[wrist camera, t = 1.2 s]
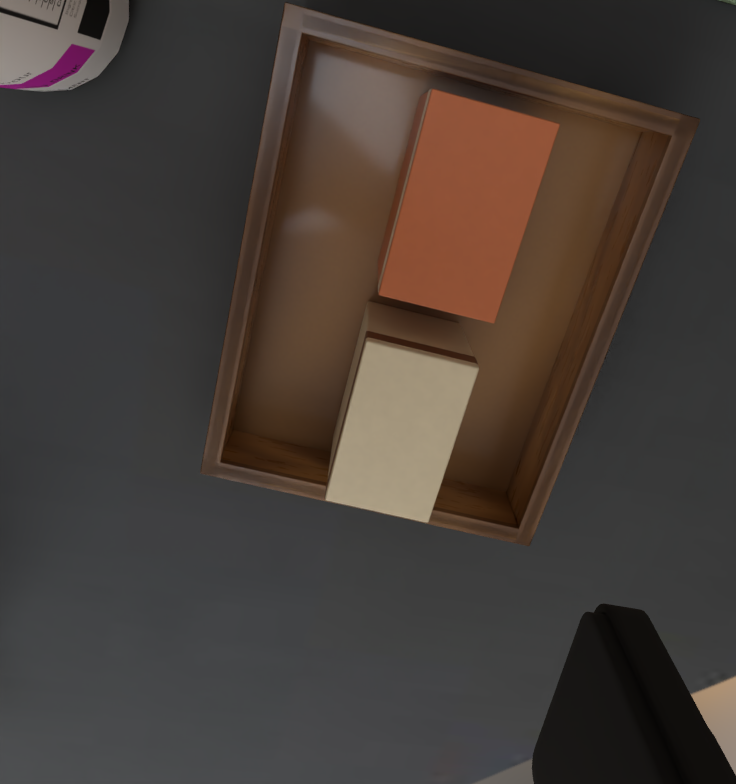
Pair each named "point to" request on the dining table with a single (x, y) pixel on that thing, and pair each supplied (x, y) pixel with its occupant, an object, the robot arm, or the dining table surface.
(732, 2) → the mat
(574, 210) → the wooden tray
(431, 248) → the block
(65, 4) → the supplement can
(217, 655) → the dining table surface
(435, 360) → the block
